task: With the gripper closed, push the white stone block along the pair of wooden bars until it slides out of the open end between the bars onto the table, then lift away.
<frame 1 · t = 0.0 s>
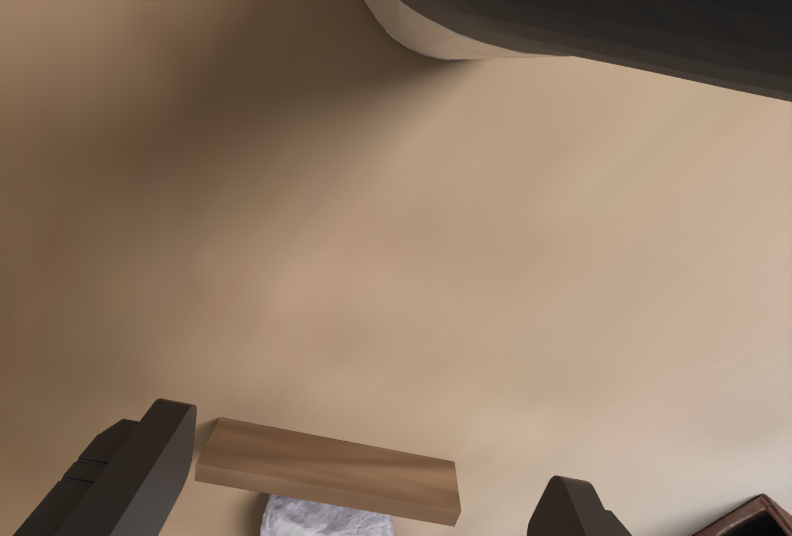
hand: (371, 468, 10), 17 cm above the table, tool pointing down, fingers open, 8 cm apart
pair of wooden bars: (316, 532, 37), on the table
stone block: (334, 529, 37), on the table
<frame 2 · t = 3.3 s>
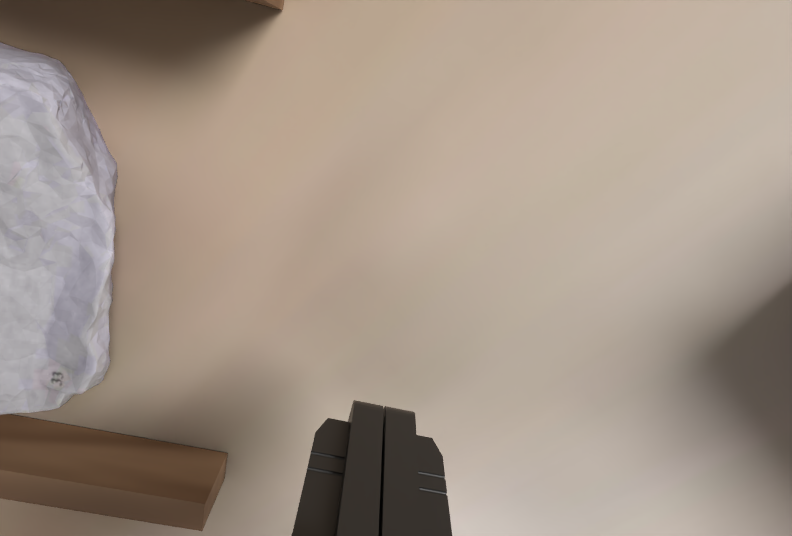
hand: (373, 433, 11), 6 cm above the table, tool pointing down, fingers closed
stone block: (8, 222, 16), on the table
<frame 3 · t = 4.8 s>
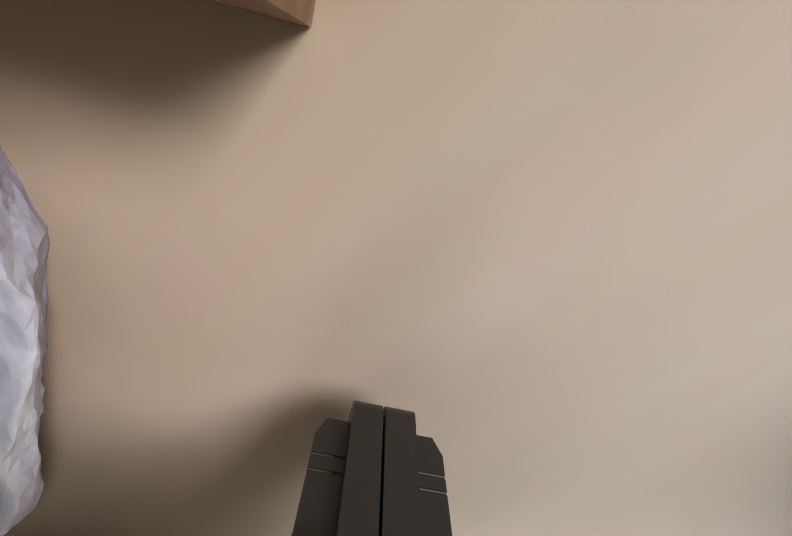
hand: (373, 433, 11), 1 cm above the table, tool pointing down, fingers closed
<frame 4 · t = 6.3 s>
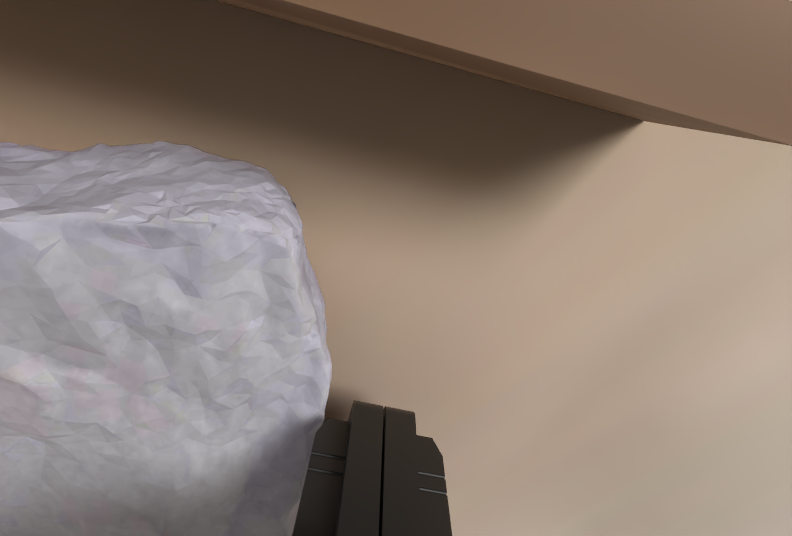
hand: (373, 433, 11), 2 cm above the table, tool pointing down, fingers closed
pair of wooden bars: (209, 362, 12), on the table
stone block: (163, 352, 13), on the table, touching gripper
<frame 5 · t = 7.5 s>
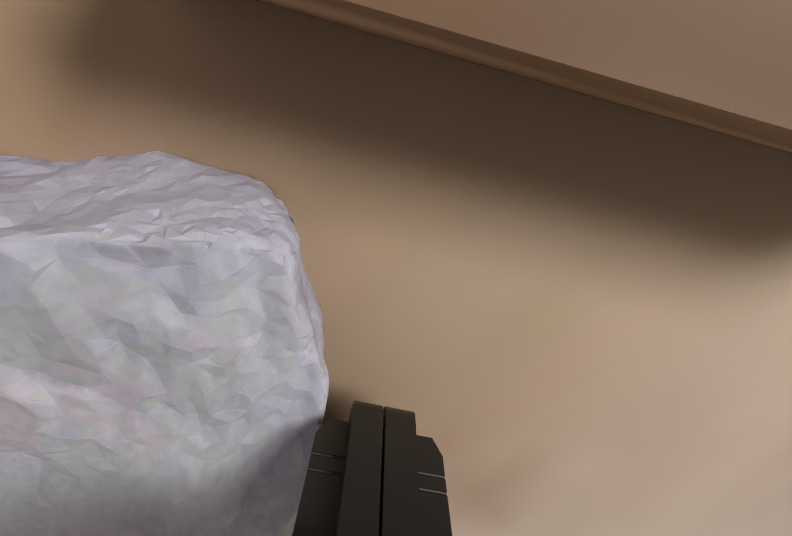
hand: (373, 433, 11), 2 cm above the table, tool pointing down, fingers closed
pair of wooden bars: (459, 407, 13), on the table
stone block: (160, 363, 13), on the table, touching gripper
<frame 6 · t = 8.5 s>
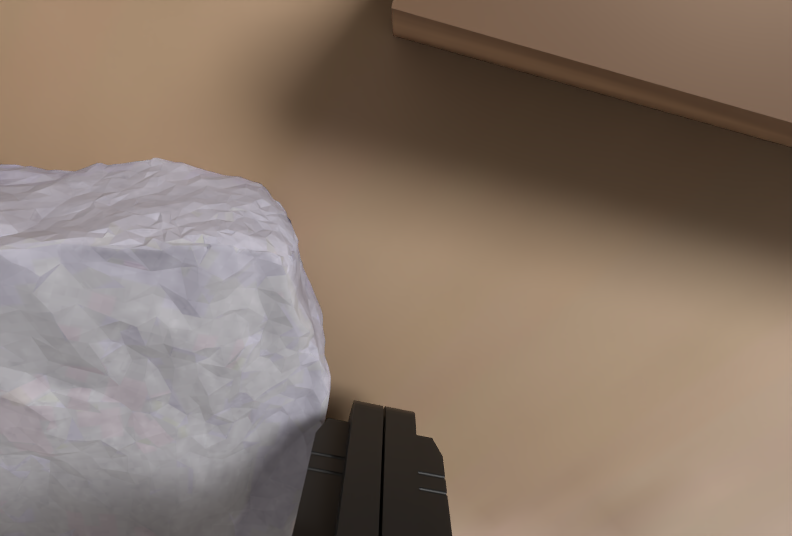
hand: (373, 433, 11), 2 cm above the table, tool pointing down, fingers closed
pair of wooden bars: (608, 435, 13), on the table
stone block: (165, 365, 13), on the table, touching gripper
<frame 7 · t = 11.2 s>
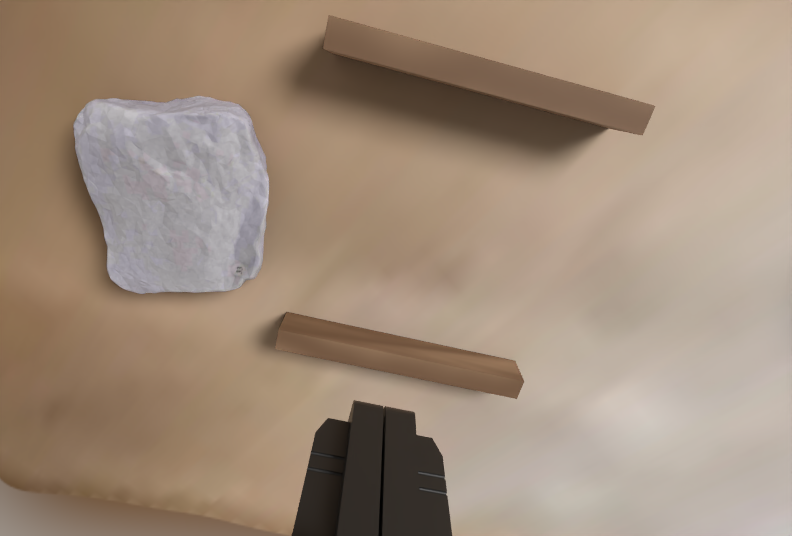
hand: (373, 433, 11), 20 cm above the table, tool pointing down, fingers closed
pair of wooden bars: (435, 227, 30), on the table
stone block: (202, 193, 30), on the table
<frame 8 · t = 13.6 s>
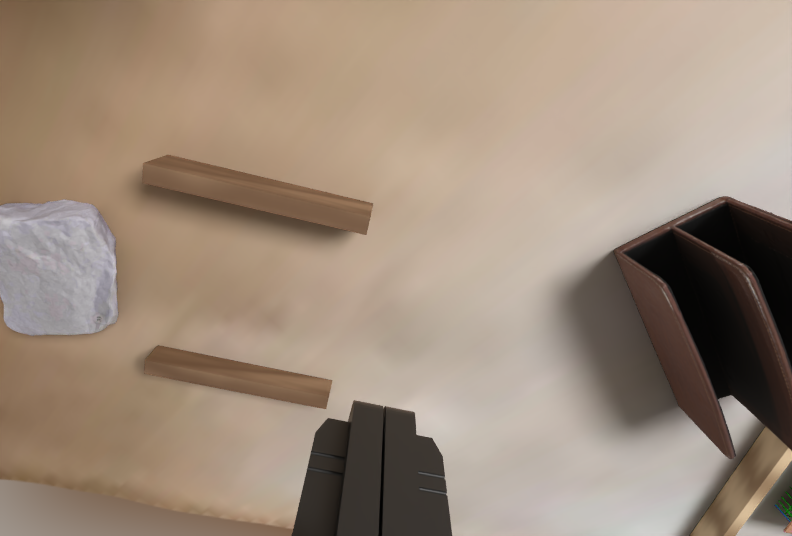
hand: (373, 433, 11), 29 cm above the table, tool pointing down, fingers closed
pair of wooden bars: (257, 286, 42), on the table
stone block: (76, 262, 41), on the table
letter holder: (696, 309, 43), on the table
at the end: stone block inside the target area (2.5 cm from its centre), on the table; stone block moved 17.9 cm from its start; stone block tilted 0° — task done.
